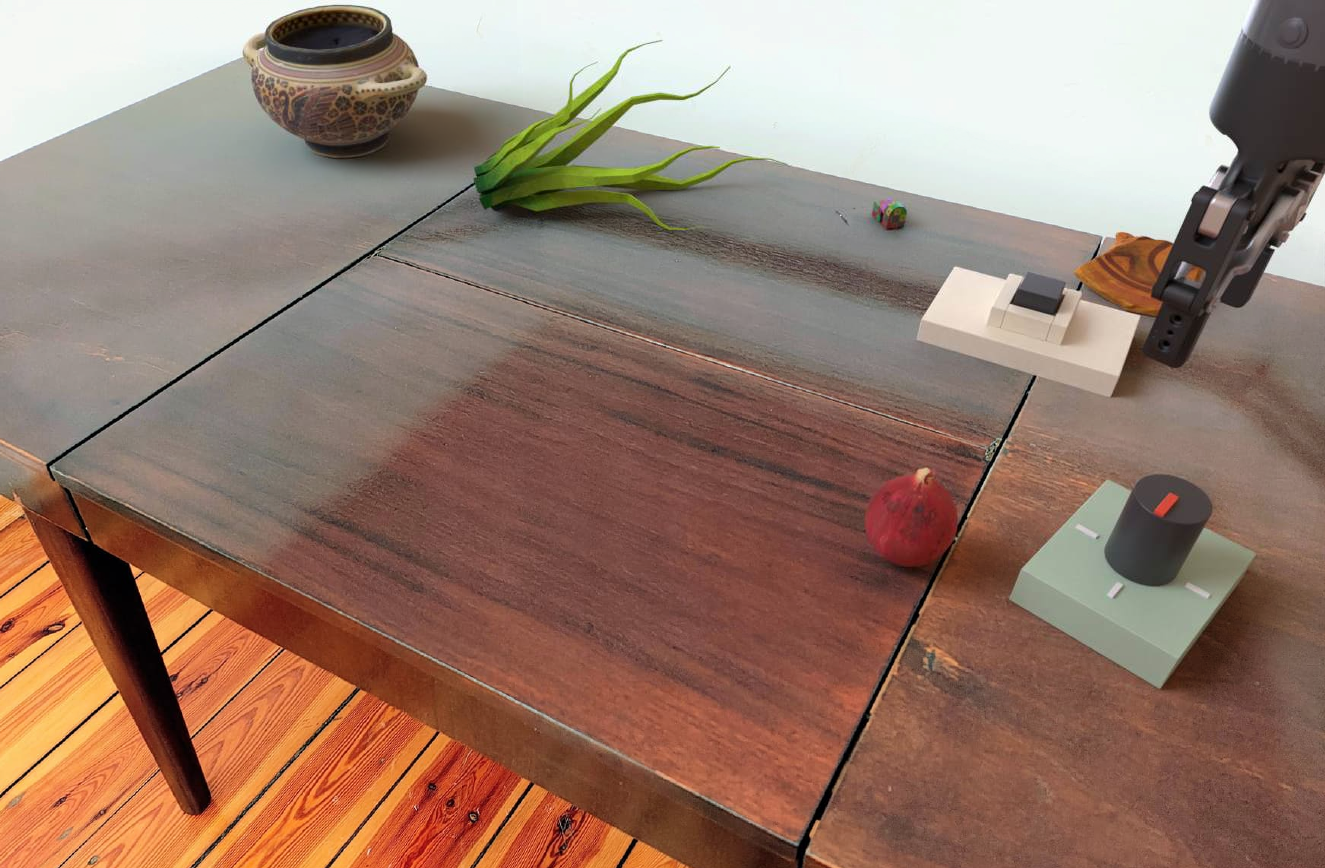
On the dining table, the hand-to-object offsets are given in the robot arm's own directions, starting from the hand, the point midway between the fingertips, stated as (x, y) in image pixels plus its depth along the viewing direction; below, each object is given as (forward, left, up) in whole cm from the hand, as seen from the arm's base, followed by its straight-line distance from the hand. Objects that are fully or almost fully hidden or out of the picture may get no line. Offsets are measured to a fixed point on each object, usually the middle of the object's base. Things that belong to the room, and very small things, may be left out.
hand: (1195, 329), depth 58 cm
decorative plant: (-14, -58, -18) cm, 62 cm away
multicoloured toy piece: (-29, -36, -18) cm, 49 cm away
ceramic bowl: (-1, -90, -18) cm, 92 cm away
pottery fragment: (-35, -13, -18) cm, 41 cm away
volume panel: (+2, +3, -18) cm, 19 cm away
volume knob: (+2, +3, -15) cm, 16 cm away
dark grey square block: (-20, -16, -14) cm, 29 cm away
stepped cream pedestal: (-20, -16, -18) cm, 31 cm away
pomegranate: (+10, -9, -18) cm, 23 cm away
